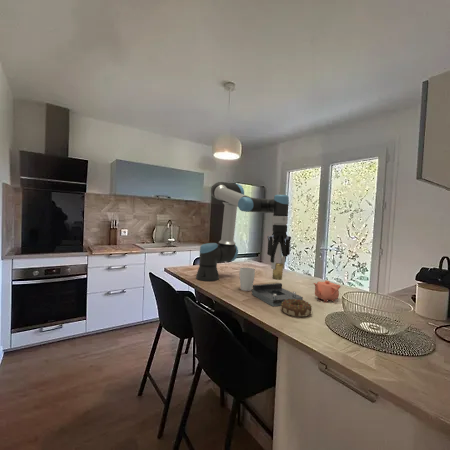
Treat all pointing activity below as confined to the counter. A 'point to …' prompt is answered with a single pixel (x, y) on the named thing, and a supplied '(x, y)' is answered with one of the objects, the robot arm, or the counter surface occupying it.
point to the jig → (273, 293)
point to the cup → (246, 278)
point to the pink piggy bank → (327, 291)
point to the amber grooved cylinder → (278, 271)
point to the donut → (296, 307)
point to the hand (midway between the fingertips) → (277, 268)
